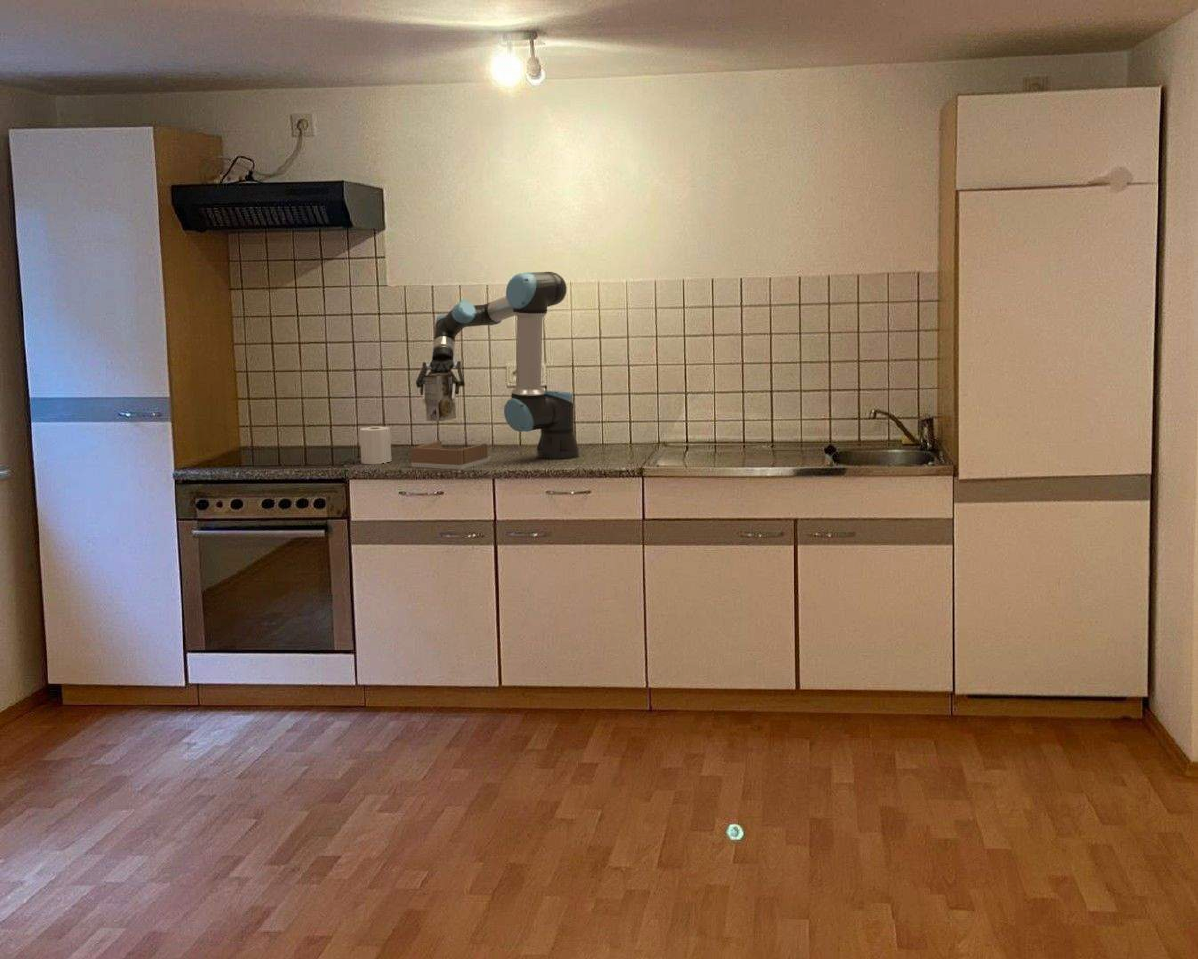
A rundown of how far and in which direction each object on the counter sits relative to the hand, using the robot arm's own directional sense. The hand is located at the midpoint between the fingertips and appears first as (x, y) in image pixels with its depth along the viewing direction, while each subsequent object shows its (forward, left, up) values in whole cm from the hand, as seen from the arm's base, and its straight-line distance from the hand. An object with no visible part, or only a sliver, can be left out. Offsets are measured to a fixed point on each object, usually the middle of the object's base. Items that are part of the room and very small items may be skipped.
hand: (438, 401), depth 512 cm
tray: (-9, +8, -21) cm, 24 cm away
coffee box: (+1, -3, -7) cm, 8 cm away
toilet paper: (+19, +12, -21) cm, 31 cm away
